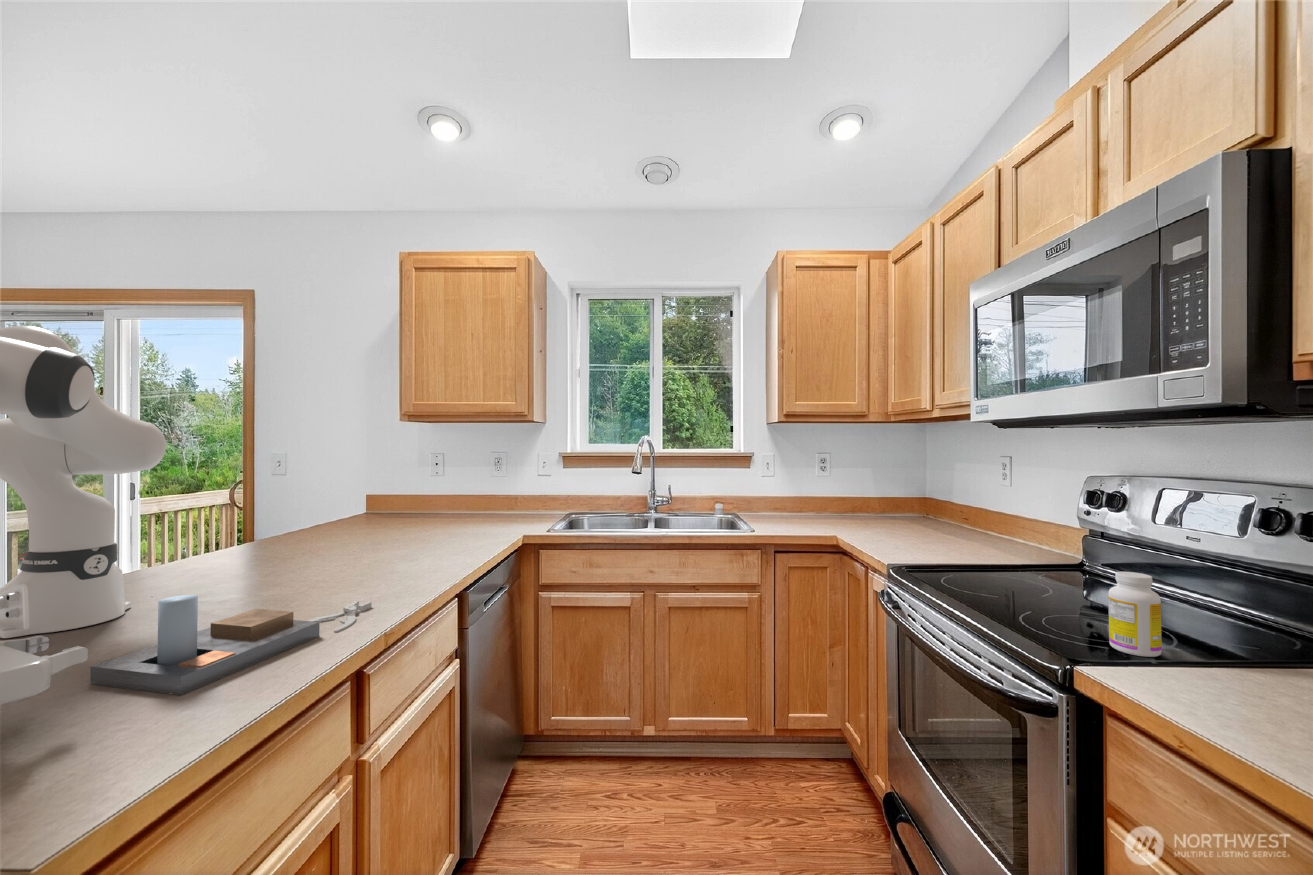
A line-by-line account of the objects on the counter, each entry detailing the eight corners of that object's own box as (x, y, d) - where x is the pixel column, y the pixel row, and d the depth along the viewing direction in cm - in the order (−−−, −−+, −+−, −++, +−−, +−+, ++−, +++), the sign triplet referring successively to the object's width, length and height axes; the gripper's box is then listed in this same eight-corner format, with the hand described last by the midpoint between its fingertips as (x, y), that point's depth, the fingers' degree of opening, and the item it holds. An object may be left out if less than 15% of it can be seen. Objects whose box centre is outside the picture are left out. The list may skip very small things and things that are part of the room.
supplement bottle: (1151, 647, 92) (1151, 572, 92) (1169, 661, 86) (1168, 581, 86) (1103, 641, 95) (1102, 568, 95) (1116, 654, 89) (1115, 576, 89)
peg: (148, 678, 78) (150, 602, 78) (181, 665, 82) (182, 594, 82) (173, 680, 77) (174, 604, 77) (204, 668, 81) (205, 595, 81)
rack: (90, 684, 76) (90, 652, 76) (245, 629, 98) (245, 604, 98) (180, 695, 73) (181, 661, 73) (319, 636, 95) (319, 610, 95)
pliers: (286, 623, 98) (341, 600, 113) (286, 632, 98) (341, 607, 113) (337, 625, 97) (386, 601, 112) (337, 634, 97) (386, 609, 112)
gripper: (-78, 680, 52) (110, 633, 65) (-156, 649, 59) (26, 612, 72) (-79, 745, 52) (109, 686, 65) (-157, 706, 59) (25, 659, 72)
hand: (65, 647), depth 68 cm, fingers open, 8 cm apart
